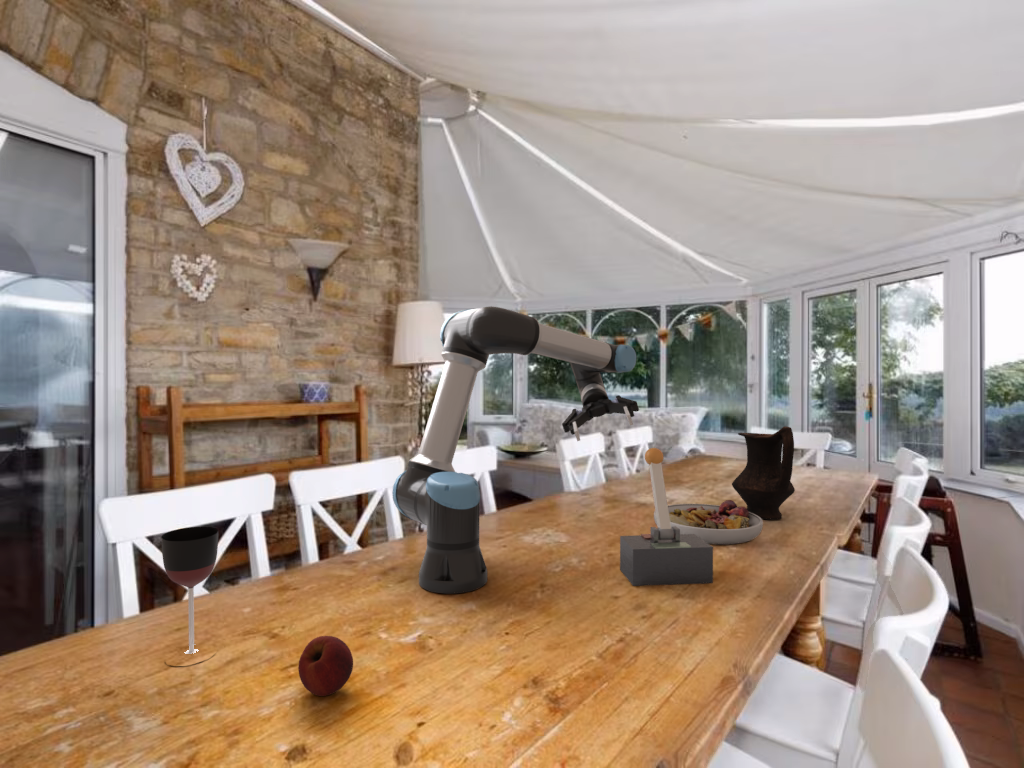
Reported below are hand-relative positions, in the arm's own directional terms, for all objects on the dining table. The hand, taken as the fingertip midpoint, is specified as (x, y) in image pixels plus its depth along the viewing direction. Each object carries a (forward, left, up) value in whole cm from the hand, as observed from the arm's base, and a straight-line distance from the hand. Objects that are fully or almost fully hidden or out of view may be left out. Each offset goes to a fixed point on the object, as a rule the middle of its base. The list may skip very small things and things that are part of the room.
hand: (603, 428), depth 138 cm
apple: (-74, -19, -33) cm, 83 cm away
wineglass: (-89, +4, -33) cm, 95 cm away
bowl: (+42, 0, -33) cm, 54 cm away
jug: (+71, -1, -33) cm, 78 cm away
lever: (+3, -17, -24) cm, 30 cm away
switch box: (+3, -17, -33) cm, 37 cm away
